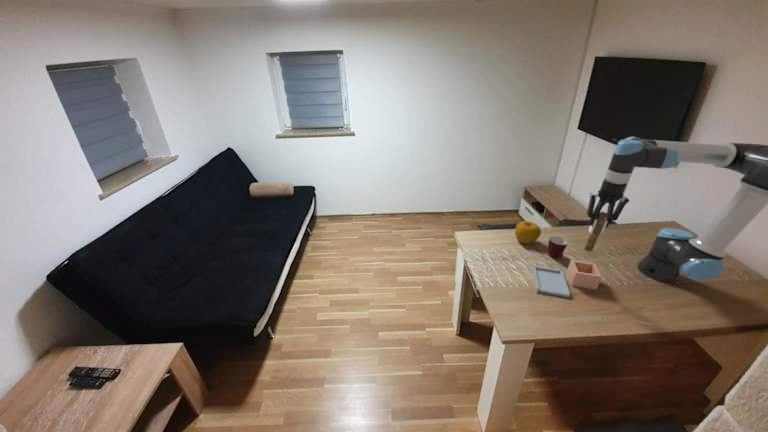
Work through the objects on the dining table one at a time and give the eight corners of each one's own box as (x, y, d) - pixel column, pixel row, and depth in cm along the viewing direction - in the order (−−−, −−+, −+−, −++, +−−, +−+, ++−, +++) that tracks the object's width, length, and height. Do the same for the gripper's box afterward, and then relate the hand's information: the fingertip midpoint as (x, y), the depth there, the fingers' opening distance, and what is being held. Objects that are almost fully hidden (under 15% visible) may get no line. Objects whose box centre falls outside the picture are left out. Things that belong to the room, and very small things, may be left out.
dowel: (591, 248, 132) (605, 212, 124) (593, 252, 130) (608, 215, 121) (583, 247, 133) (597, 211, 125) (585, 250, 131) (599, 214, 122)
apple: (519, 232, 179) (523, 215, 173) (541, 241, 170) (546, 224, 165) (508, 240, 171) (512, 223, 166) (531, 250, 163) (536, 232, 157)
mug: (568, 263, 152) (573, 247, 147) (552, 264, 152) (557, 248, 147) (556, 251, 161) (561, 236, 156) (541, 252, 161) (546, 236, 156)
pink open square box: (589, 277, 143) (594, 263, 139) (595, 290, 135) (601, 276, 131) (566, 273, 146) (570, 259, 142) (570, 286, 137) (576, 272, 133)
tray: (531, 268, 149) (532, 265, 148) (560, 273, 145) (562, 269, 144) (536, 293, 134) (537, 289, 133) (569, 299, 130) (570, 295, 129)
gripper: (635, 179, 117) (613, 231, 128) (589, 175, 121) (572, 225, 132) (644, 186, 111) (620, 240, 122) (595, 181, 115) (576, 234, 126)
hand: (595, 232), depth 127 cm, fingers closed on dowel, 3 cm apart
